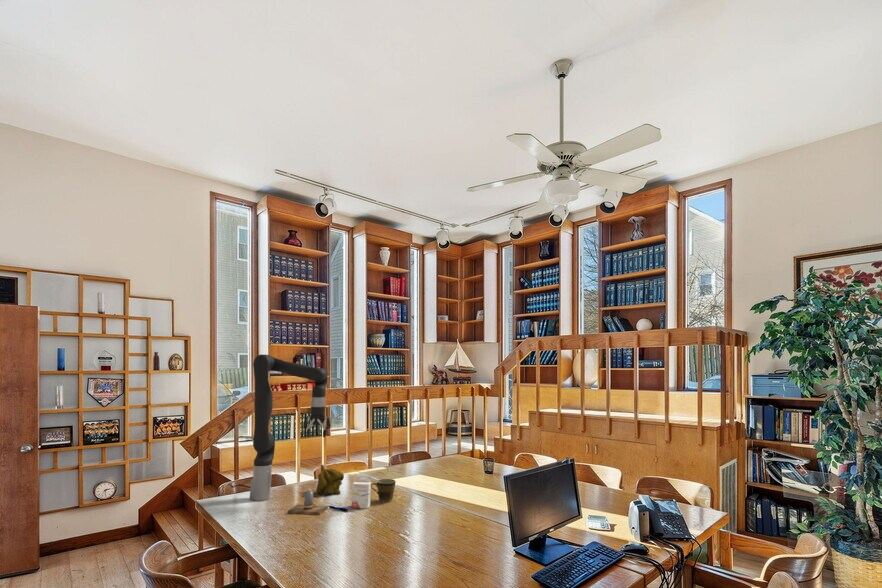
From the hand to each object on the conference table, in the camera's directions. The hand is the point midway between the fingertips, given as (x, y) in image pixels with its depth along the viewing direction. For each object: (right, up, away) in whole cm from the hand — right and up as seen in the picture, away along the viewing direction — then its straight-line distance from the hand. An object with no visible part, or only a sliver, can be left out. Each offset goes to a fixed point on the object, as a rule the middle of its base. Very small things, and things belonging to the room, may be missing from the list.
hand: (316, 436), depth 254 cm
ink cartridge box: (+26, -31, -16) cm, 43 cm away
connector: (+2, -28, -23) cm, 36 cm away
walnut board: (+2, -29, -23) cm, 37 cm away
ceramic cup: (+36, -32, -5) cm, 49 cm away
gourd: (+4, -34, +10) cm, 36 cm away
